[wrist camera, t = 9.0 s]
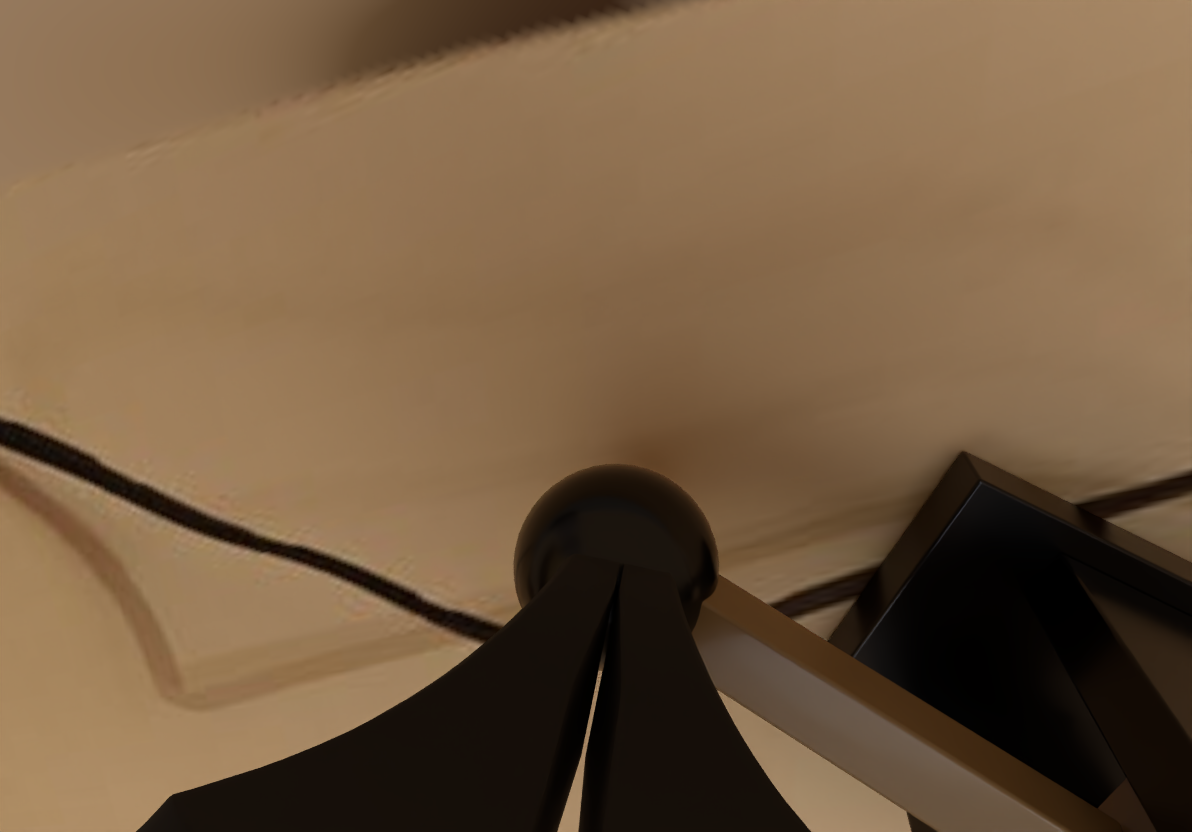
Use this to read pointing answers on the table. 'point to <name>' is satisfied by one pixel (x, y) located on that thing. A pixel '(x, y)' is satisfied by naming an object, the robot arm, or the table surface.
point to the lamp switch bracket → (1040, 637)
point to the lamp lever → (800, 666)
